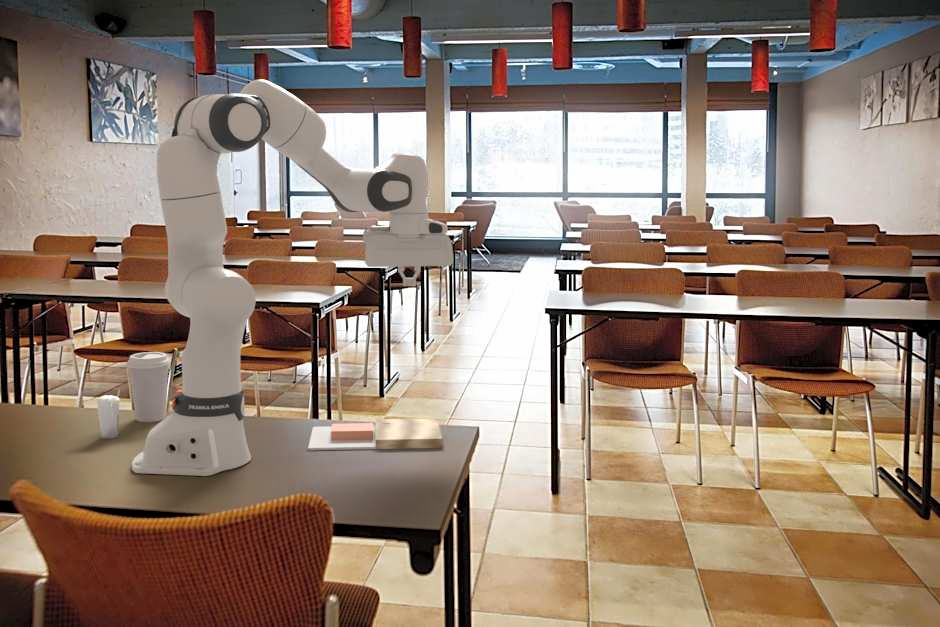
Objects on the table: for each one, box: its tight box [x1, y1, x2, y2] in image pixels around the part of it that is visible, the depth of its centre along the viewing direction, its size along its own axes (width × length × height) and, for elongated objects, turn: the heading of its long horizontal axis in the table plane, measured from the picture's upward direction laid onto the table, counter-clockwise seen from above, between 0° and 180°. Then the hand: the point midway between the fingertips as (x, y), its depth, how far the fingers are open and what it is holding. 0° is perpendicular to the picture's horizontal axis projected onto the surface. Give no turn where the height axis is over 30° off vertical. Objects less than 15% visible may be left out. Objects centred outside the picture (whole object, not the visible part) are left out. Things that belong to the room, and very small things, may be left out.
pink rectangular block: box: [331, 422, 374, 440], centre depth 198 cm, size 9×6×2 cm, turn 96°
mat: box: [307, 425, 377, 451], centre depth 198 cm, size 14×16×1 cm
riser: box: [375, 417, 443, 450], centre depth 199 cm, size 14×16×2 cm
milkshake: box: [96, 388, 121, 440], centre depth 196 cm, size 4×5×10 cm
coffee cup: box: [126, 351, 171, 423], centre depth 210 cm, size 10×10×15 cm
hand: (409, 285), depth 210 cm, fingers closed
